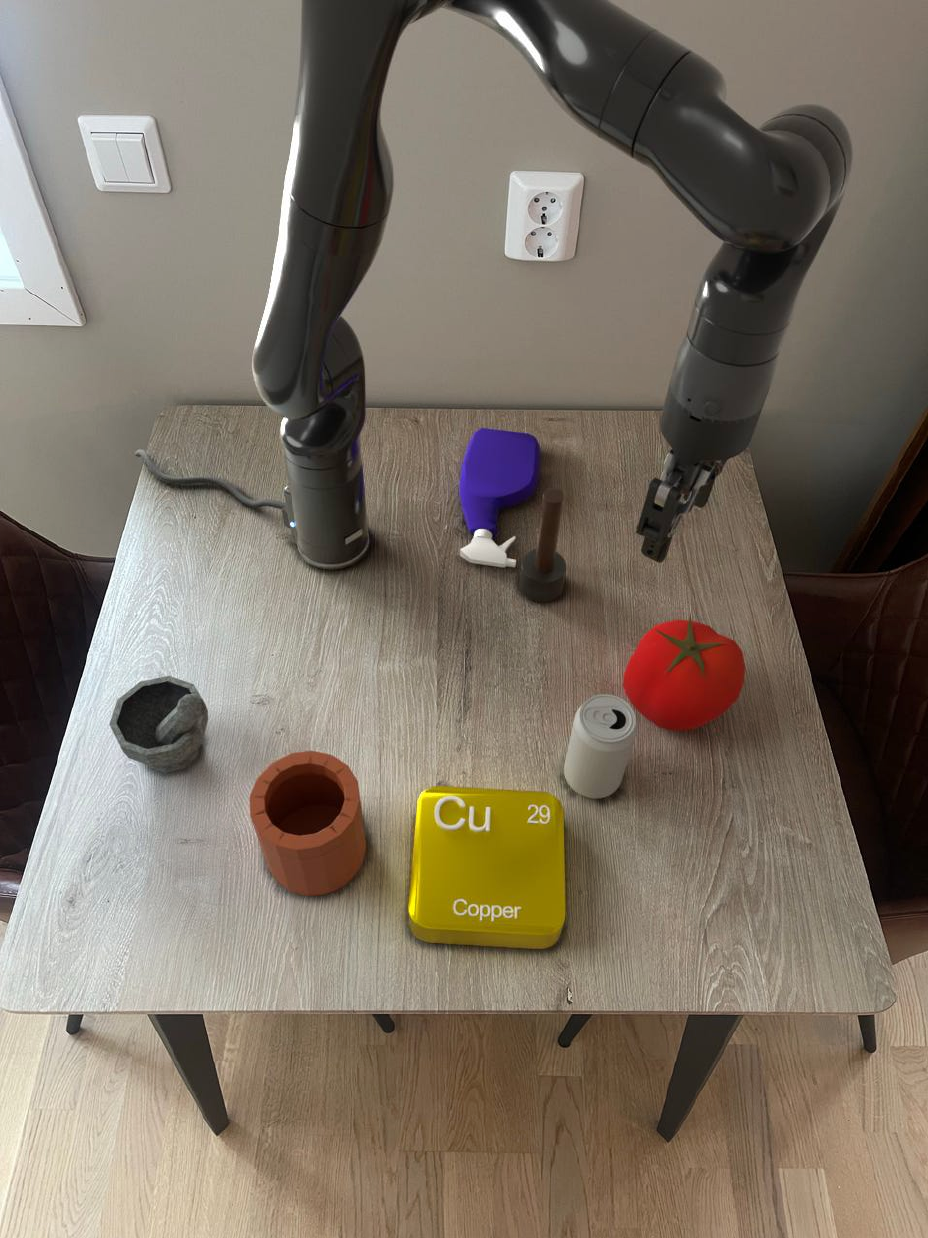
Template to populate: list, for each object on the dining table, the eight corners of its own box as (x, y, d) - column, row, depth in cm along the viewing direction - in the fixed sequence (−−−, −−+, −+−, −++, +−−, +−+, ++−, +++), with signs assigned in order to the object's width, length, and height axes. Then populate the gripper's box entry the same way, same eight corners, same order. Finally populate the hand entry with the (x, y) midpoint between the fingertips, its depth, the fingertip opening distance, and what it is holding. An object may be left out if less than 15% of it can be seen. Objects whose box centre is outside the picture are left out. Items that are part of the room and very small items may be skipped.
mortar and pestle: (109, 768, 101) (76, 708, 91) (156, 701, 106) (129, 637, 97) (200, 802, 98) (176, 744, 89) (243, 731, 104) (224, 670, 95)
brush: (510, 589, 118) (519, 498, 105) (534, 562, 121) (545, 471, 108) (548, 609, 116) (562, 519, 104) (571, 582, 119) (587, 491, 106)
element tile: (406, 942, 90) (405, 925, 86) (419, 802, 99) (418, 781, 95) (561, 952, 90) (567, 934, 86) (559, 810, 99) (564, 789, 95)
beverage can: (618, 807, 99) (637, 750, 90) (558, 795, 100) (572, 737, 91) (623, 756, 103) (642, 696, 94) (566, 745, 104) (580, 685, 95)
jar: (245, 859, 95) (226, 809, 86) (311, 786, 100) (299, 733, 91) (322, 916, 91) (310, 870, 83) (385, 837, 97) (381, 787, 88)
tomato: (607, 662, 111) (623, 601, 102) (716, 656, 112) (741, 595, 103) (628, 751, 104) (646, 694, 95) (744, 743, 105) (773, 686, 96)
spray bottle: (469, 424, 133) (442, 550, 118) (545, 433, 132) (527, 561, 118) (468, 439, 135) (442, 565, 121) (543, 448, 135) (525, 576, 120)
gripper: (713, 326, 78) (672, 469, 90) (633, 414, 70) (600, 557, 83) (797, 360, 75) (742, 502, 88) (723, 455, 68) (675, 595, 81)
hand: (673, 528), depth 86 cm, fingers open, 8 cm apart
